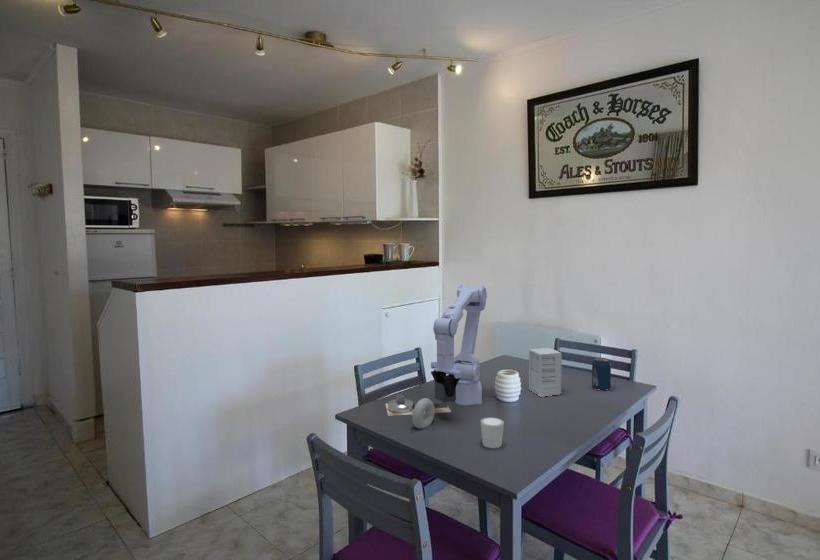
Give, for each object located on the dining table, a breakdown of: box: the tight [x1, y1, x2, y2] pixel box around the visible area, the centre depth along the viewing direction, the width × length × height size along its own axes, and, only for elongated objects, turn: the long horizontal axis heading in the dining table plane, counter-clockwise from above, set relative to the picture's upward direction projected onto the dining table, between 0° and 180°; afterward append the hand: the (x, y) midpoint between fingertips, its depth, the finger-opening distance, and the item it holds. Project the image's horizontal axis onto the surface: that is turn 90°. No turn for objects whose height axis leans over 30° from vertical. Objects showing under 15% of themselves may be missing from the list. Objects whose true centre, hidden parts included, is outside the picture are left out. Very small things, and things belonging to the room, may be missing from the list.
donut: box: [411, 397, 436, 430], centre depth 153 cm, size 10×4×10 cm, turn 143°
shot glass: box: [480, 416, 505, 449], centre depth 141 cm, size 7×7×7 cm
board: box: [384, 402, 452, 417], centre depth 169 cm, size 22×12×1 cm, turn 97°
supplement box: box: [528, 347, 563, 398], centre depth 186 cm, size 10×9×17 cm
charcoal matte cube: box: [434, 379, 456, 403], centre depth 158 cm, size 5×5×6 cm
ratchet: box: [387, 394, 449, 413], centre depth 169 cm, size 21×9×4 cm, turn 97°
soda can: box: [591, 357, 612, 390], centre depth 190 cm, size 7×7×12 cm
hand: (445, 393), depth 158 cm, fingers closed on charcoal matte cube, 5 cm apart
